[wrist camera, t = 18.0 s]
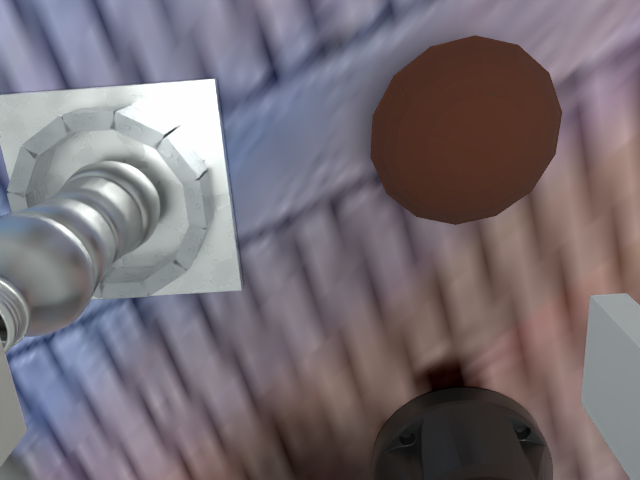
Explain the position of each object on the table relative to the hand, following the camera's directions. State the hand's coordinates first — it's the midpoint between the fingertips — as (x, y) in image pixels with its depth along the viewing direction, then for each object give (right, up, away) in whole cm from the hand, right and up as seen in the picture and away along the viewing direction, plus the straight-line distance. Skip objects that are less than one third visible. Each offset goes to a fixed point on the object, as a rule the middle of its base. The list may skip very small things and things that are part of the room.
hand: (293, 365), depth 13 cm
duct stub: (-14, +6, +32) cm, 35 cm away
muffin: (+10, +12, +30) cm, 33 cm away
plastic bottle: (-14, +6, +31) cm, 35 cm away
